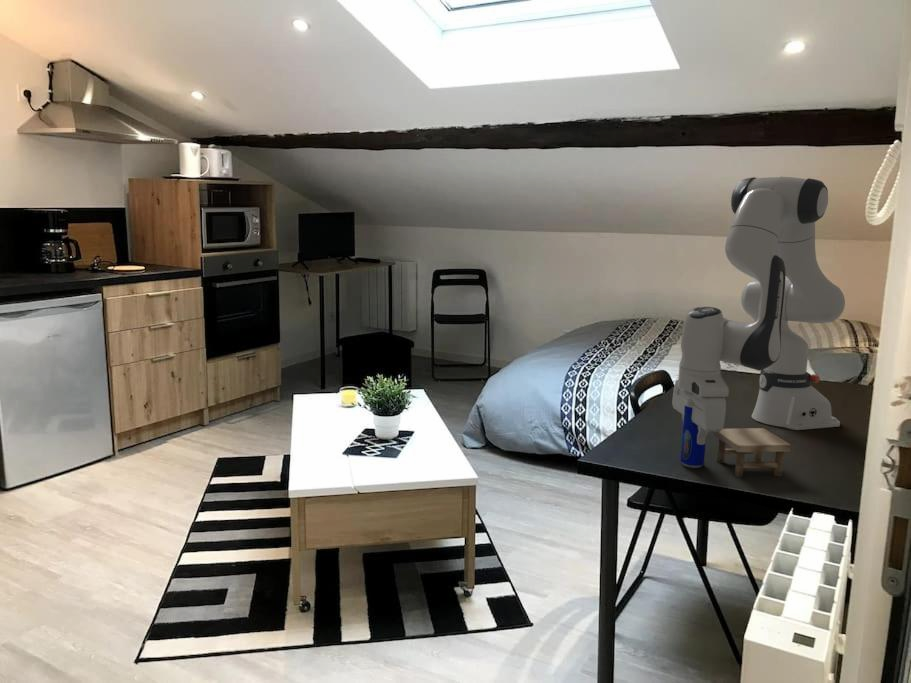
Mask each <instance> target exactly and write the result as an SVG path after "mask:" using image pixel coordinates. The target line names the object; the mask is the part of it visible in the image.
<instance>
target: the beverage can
mask: <svg viewBox="0 0 911 683" xmlns="http://www.w3.org/2000/svg"><path fill="white" fill-rule="evenodd" d="M692 405H694V403H691V402H690V401H688V399H687V400H686V403H685V408H684V421H683V420H682V423H683V424H682V436H681V450H680V460H679V461H680V463H681V465H683V466H684V467H686V468H687V467H688V468H691V469H696V468H698V469H699V468H701V467H702V466H704V464H705V457H706V444H707V441H706V442H705V444H704V445H699V444H697V443H696V442H695V436H696V435H697V434H698V431H699V430H698V425H696V424H695V423H694V422H692V419H691V418H692Z"/></svg>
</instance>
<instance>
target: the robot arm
mask: <svg viewBox="0 0 911 683" xmlns="http://www.w3.org/2000/svg"><path fill="white" fill-rule="evenodd" d="M730 199H731V200H730V206H731V210H732V212H733V213H734V215H733V218H732V221H731V224H730V227H729V230H728V233H727V235H726V240H725V246H724V252H725V255H726V258H727V260H728V261H729V263H730V264H731V265H732V266H734V267H735V268H736V269H737V270H739V271H740V272H742V273H743V274H745V275H747V276H748V277H751V278H753V280H750V281H749V282H748V283H747V284H746V285H745V286H744V288H743V290H742V292H741V295H740V302H741V306H742V308H743V310H744V312H746V314H748V315H749V316H750V317H751V318H752V320H754V322H753V323H750V322H742V321H737V320H731V319H728V318H725V317H724V315H723V312H722V310H721V309H719V308H718V307H714V306H713V307H712V306H702V307H701V306H700V307H693V308H692V309H689V310H688V311H687V313H686V315H685V317H684V322H683V326H682V332H681V340H680V341H681V342H680V350H681V358H680V359H681V360H680V361H679V366H678V379H676V380H675V382H674V387H673V393H672V399H671V400H672V402H671V403H672V408H673V409H674V410H676V411H677V412H679V413H680V414H681V420H682V422H683V421H684V408H685V403H686V400H687V399H688V401H690V402H691V403H694V405H692V418H691V419H692V422H694V423H695V424H696V425H698V430H699V431H698V434H697V435H696V436H695V442H696V443H697V444H699V445H704V444H705V442H706V443H707V441H706V440H707V437H708V435H709V433H714V432H720V431H721V430H722V429H724V427H725V422H726V421H725V419H726V412H727V401H726V398H725V397H728V396H729V394H730V389H729V387H728V384H726V381H724V379H723V377H722V375H721V369H722V368H721V367H722V365H721V362H723V363H725V364H726V363H728V364H733V365H738V366H742V367H745V368H749V369H752V370H756V371H760V373H759V381H758V382H759V383H758V384H759V386H758V387H759V390H758V396H757V399H756V403H755V407H754V409H753V412H752V414H751V418H752V419H753V420H754V421H757V422H760V423H762V424H766V425H770V426H775V427H780V428H785V429H790V430H795V431H800V430H801V431H802V430H814V429H827V428H835V427H836V428H837V427H840V425H841V421H840V420H839V419H837V417H834V416H832V414H833V413H832V406H831V402H830V401H829V400H828V398H827V397H825V396H824V395H823V394H822V393H820V392H819V391H818V390H817V389H816V388H815V387H814V386H812V382H813V383H815V384H818V383H819V382H820V381H821V378H820V376H819V375H816V374H814V373H813V374H811V373H809V372H808V371H807V368H808V357H809V352H810V351H809V350H810V346H809V344H808V342H807V341H806V340H805V339H804V338H803V337H801V335H798V333H796V332H794V331H792V329H791V328H790V326H789V323H788V322H789V321H790V322H798V323H808V324H826V323H827V324H828V323H834V322H835V321H837V320H838V319H839V318H840V317H841V315H842V314H843V312H844V309H845V306H846V300H845V295H844V293H843V291H842V289H841V288H840V287H839V286H837V285H836V284H834V283H833V282H832V281H831V280H830V279H828V278H827V277H826V275H825V274H824V273H823V271H821V268H820V266H819V264H818V260H817V254H816V253H817V252H816V222H818V220H820V219H822V218H823V216H824V215H825V213H826V210H827V207H828V206H829V190H828V187H827V186H826V185H825V183H824V182H823V181H821V180H818V179H814V178H806V179H805V178H800V177H792V176H780V177H778V176H776V177H773V176H772V177H771V176H770V177H769V176H768V177H761V178H760V177H747V178H743V179H741V180H739V182H738V183H737V184H736V185H735V186H734V187H733V190H732V193H731V198H730ZM786 278H787V279H786Z"/></svg>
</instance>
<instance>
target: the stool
mask: <svg viewBox="0 0 911 683" xmlns="http://www.w3.org/2000/svg"><path fill="white" fill-rule="evenodd" d="M713 436H714V437H716V438H717V439H718V443H717V444H718V446H717V455H716V457H717V458H716V462H717V463H721V464H724V463H725V458H726V457H725V456H726V455H736V457H735V471H734V477H736V478H742V477H743V474H744V469H764V468H765V469H766V468H773V476H775V477H782V473H783V466H784V465H783V464H784V455H785V453H786V452H791V450H792V444H790V443H788V442H787V441H786V440H784V439H782V438H781V437H778V436H777V435H775V434H774V433H772V432H771V431H769V430H767V429H766V428H764V427H757V428H755V427H754V428H753V427H751V428H750V427H749V428H746V427H745V428H743V427H742V428H722V430H721V431H720V432H713ZM726 445H727V446H729V448H726ZM770 452H772V453H773V452H774V453H775V456H774V457H775V458H774V459H775V460H774V461H762V457H763V453H770ZM747 454H748V455H753V454H754V455H753V461H745V455H747Z"/></svg>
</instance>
